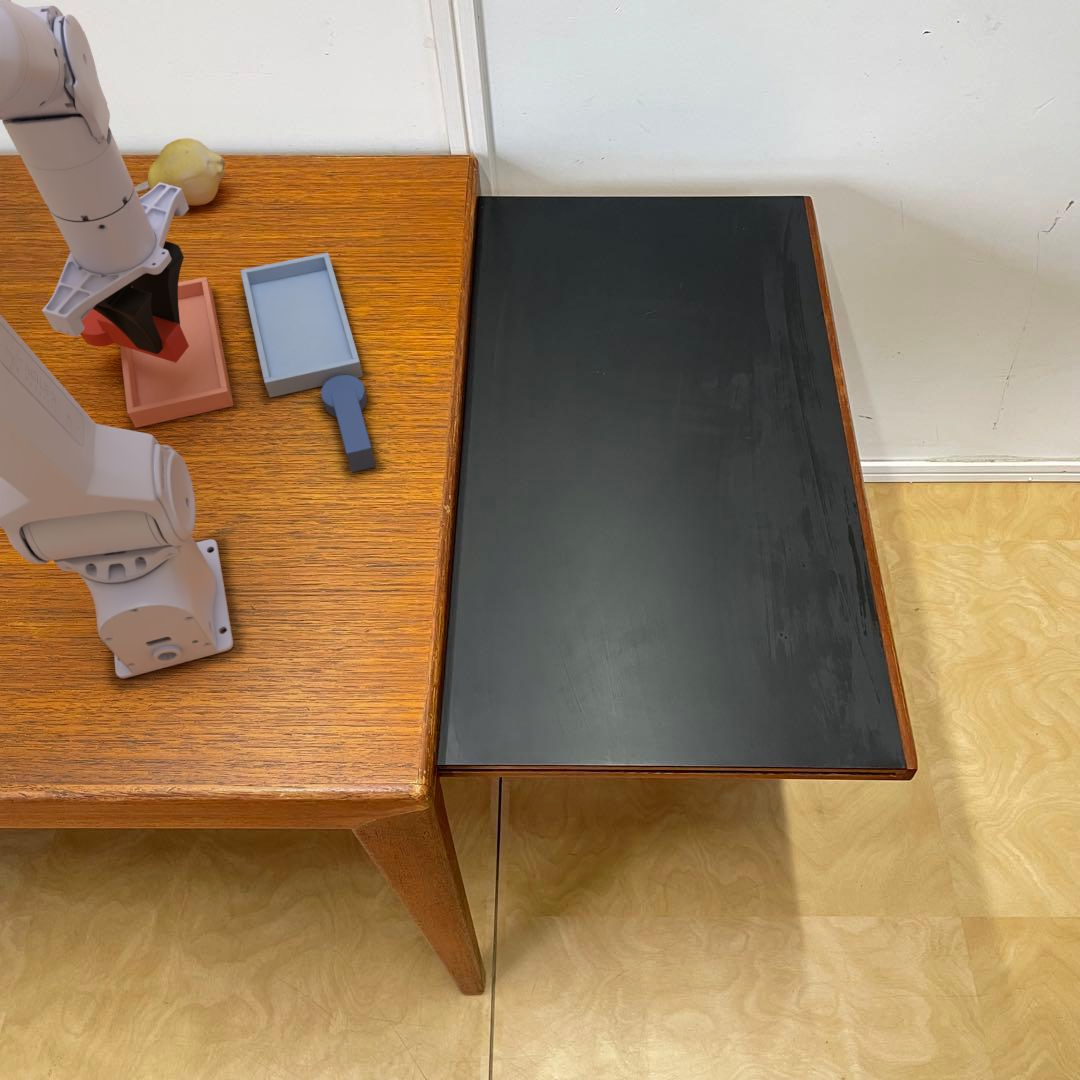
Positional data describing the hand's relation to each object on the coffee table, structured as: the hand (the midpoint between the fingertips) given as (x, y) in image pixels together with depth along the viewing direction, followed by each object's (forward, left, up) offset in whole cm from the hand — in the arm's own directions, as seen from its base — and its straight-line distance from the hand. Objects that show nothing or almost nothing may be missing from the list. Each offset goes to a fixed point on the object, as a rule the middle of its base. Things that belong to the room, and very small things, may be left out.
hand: (158, 337), depth 74 cm
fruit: (+24, -3, -6) cm, 25 cm away
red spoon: (+2, +2, -1) cm, 3 cm away
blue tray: (+3, -11, -5) cm, 13 cm away
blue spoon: (-9, -13, -5) cm, 17 cm away
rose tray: (+3, 0, -5) cm, 6 cm away
